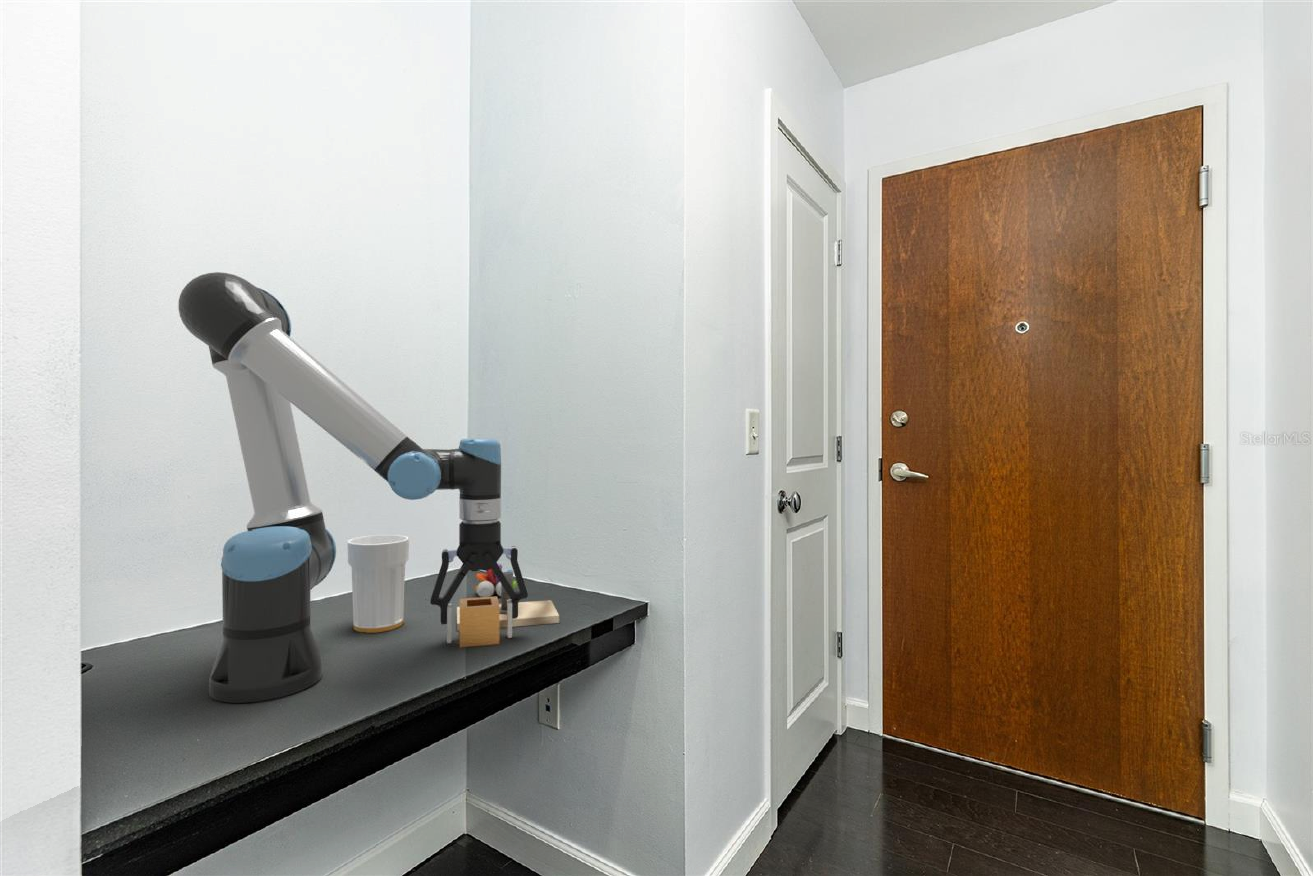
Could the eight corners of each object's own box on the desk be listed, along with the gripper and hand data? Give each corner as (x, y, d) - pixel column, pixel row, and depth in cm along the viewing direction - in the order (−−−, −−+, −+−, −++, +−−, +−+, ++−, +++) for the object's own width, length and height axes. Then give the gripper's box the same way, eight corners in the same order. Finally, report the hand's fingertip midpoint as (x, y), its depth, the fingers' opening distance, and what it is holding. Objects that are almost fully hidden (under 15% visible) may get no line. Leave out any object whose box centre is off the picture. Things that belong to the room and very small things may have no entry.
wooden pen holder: (459, 647, 116) (459, 609, 116) (459, 635, 122) (459, 599, 122) (499, 643, 118) (499, 606, 118) (497, 632, 125) (497, 596, 124)
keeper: (456, 631, 125) (457, 583, 125) (456, 614, 136) (457, 569, 136) (559, 622, 131) (559, 576, 130) (551, 606, 142) (551, 564, 142)
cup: (416, 627, 127) (417, 540, 127) (356, 638, 120) (356, 546, 120) (398, 614, 136) (398, 532, 136) (340, 624, 129) (340, 538, 128)
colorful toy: (476, 590, 156) (476, 561, 156) (517, 589, 158) (517, 560, 157) (473, 600, 147) (473, 569, 147) (515, 598, 149) (516, 567, 149)
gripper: (414, 526, 113) (413, 650, 113) (543, 521, 120) (543, 639, 120) (416, 519, 120) (416, 637, 120) (539, 515, 127) (538, 626, 127)
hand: (479, 638), depth 120 cm, fingers open, 10 cm apart
